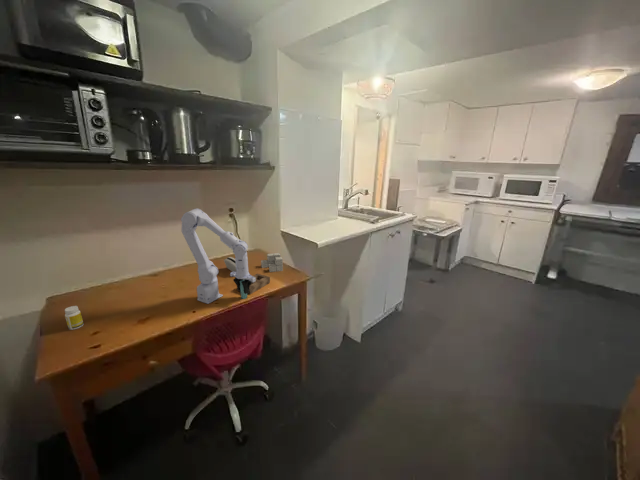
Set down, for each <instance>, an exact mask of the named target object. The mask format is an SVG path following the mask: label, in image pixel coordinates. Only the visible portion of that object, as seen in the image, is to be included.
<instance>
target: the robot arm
mask: <svg viewBox="0 0 640 480" xmlns="http://www.w3.org/2000/svg"><path fill="white" fill-rule="evenodd" d="M180 221H181V233H182V235H183V237H184V240H185V242H186V244H187V246H188V247H189V249H190V252H191V253H192V256H193V258H194V260H195V262H196V264H197V273H198V280H199V281H200V284H198V285H197V286H196V293H197V298H196V300H197V301H199V302H201V303H204V304H208V305H209V304H211V303H212V302H215V301H216V300H219V299H220V298H222V297H223V296H224V295H223V294H221V293H220V292H219V291H220V290H219V282H218V281H219V280H218V277H217V276H218V275H219V268H218V267H217V266H216V265H215V264H214V262H213V261H211V260H210V259H209V257H208V255H207V253H206V250H205V249H204V246H203V244H202V242H201V239H200V238H199V235H198V233H197V232H196V229H198V227H205V228H207V229H208V230H210V231H211V232H212V233H214V234H216V236H218V237H219V239H220V241H221V242H222V243H223V244H224V245H226V246H227V247H228V248H229V249H231V250H232V253H233V255H234V257H235V258H234V259H235V263H236V272H233V271H230V274H229V276H230V277H231V278H232V277H234V278H233V282H234V283H235V285H236V288H237V287H238V290H239V291H238V290H237V291H238V292H239V293H241V290H240V280H244V281H242V282H241V283H242V285H243V288H244V293H245V294H247V295H248V292H249V287H250V284H251V282H255V281H256V278H255V277H253V276H254V275H252V274H250V272H249V259H248V252H247V251H248V248H249V244H248V243H247V242H246V241H244V240H242V239H239V238H238V237H237V236H235V235H234V232H232V231H229V230H227V231H225V230H224V229H223V228H222V227H221V226H220V225H219V224H218V223H216V222H215V221H214V220H213V219H212V218H210V216H209V215H208V214H207V213H206V212H205V211H203V210H202V209H200V208H198V207H197V208H193V209H191V210H190V211H186V212H185V213H183V215H182V216H181V218H180Z"/></svg>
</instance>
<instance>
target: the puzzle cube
mask: <svg viewBox="0 0 640 480" xmlns="http://www.w3.org/2000/svg"><path fill="white" fill-rule="evenodd" d="M283 263H284V262H283V257H282V256H281V254H280V252H276V253H275V252H274V253H267V254H266V259H261V260H260V264H261V265H260V267H261V269H264V268H268V270H269V273H273V272H274V273H275V272H283V271H284V264H283Z"/></svg>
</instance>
